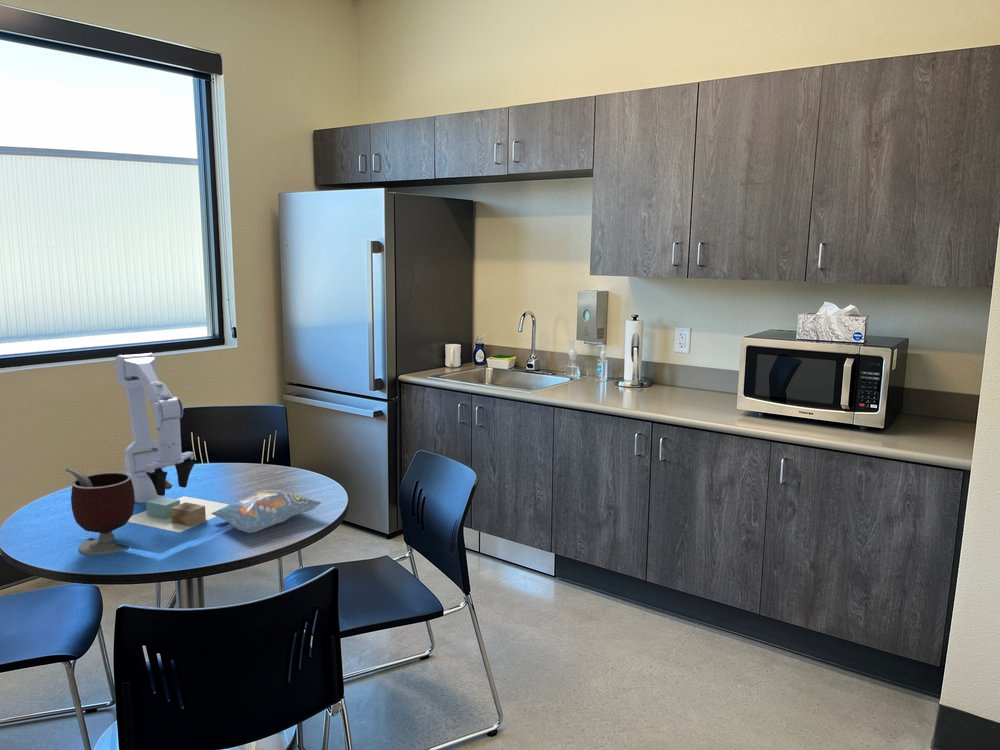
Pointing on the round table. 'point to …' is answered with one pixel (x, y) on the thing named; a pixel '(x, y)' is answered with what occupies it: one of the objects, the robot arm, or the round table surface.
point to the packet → (264, 509)
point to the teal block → (161, 507)
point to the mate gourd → (102, 508)
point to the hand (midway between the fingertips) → (172, 490)
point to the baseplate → (168, 523)
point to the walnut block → (188, 514)
